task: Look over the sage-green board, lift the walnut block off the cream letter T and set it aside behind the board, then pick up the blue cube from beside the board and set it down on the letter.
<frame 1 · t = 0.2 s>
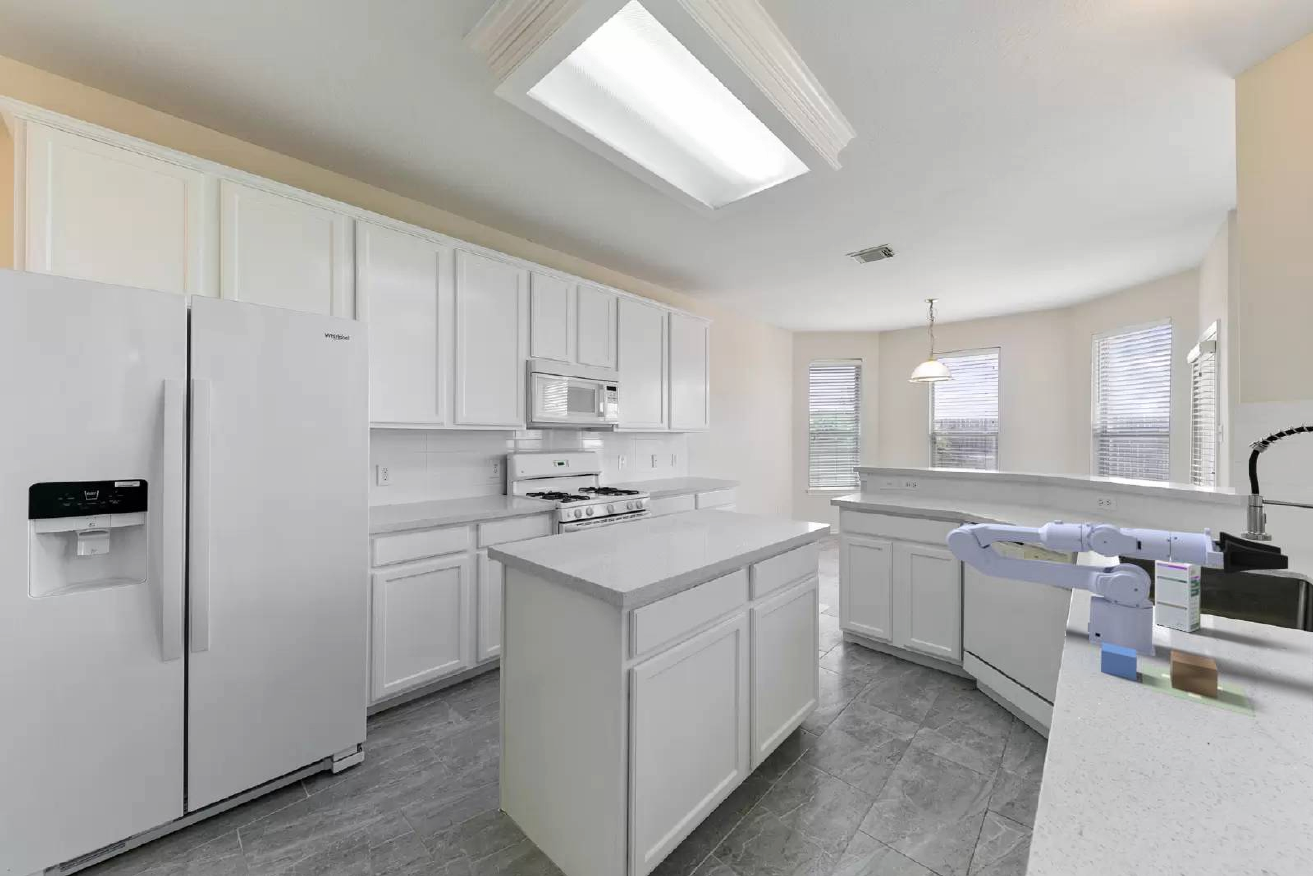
hand: (1284, 558, 87), 21 cm above the countertop, tool horizontal, fingers open, 7 cm apart
blue cube: (1118, 675, 89), on the countertop
walnut block: (1192, 687, 84), point 1 cm above the countertop, touching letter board
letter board: (1192, 691, 84), on the countertop
syrup box: (1176, 627, 111), on the countertop
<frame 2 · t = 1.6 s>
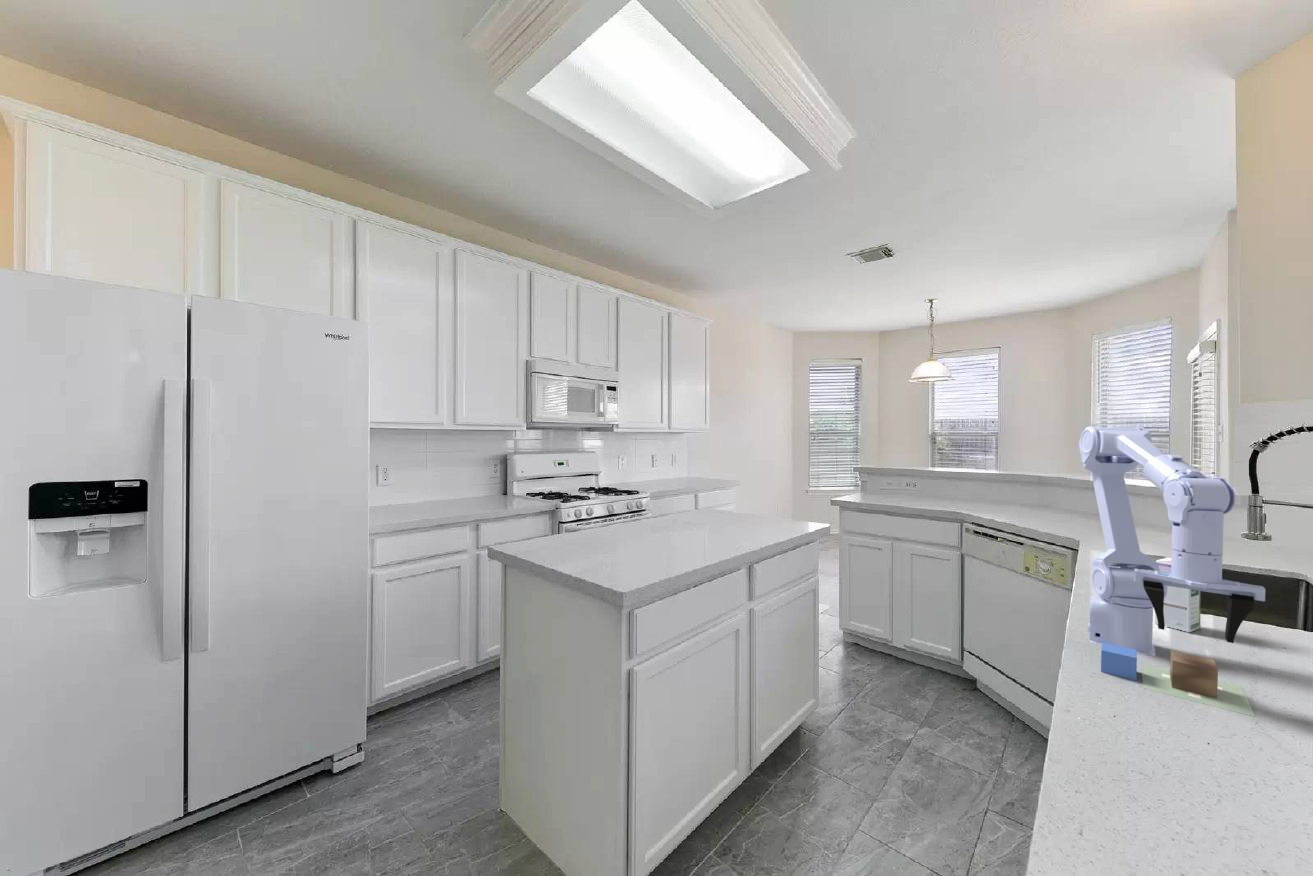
hand: (1194, 634, 83), 9 cm above the countertop, tool pointing down, fingers open, 7 cm apart
nothing on the countertop moved.
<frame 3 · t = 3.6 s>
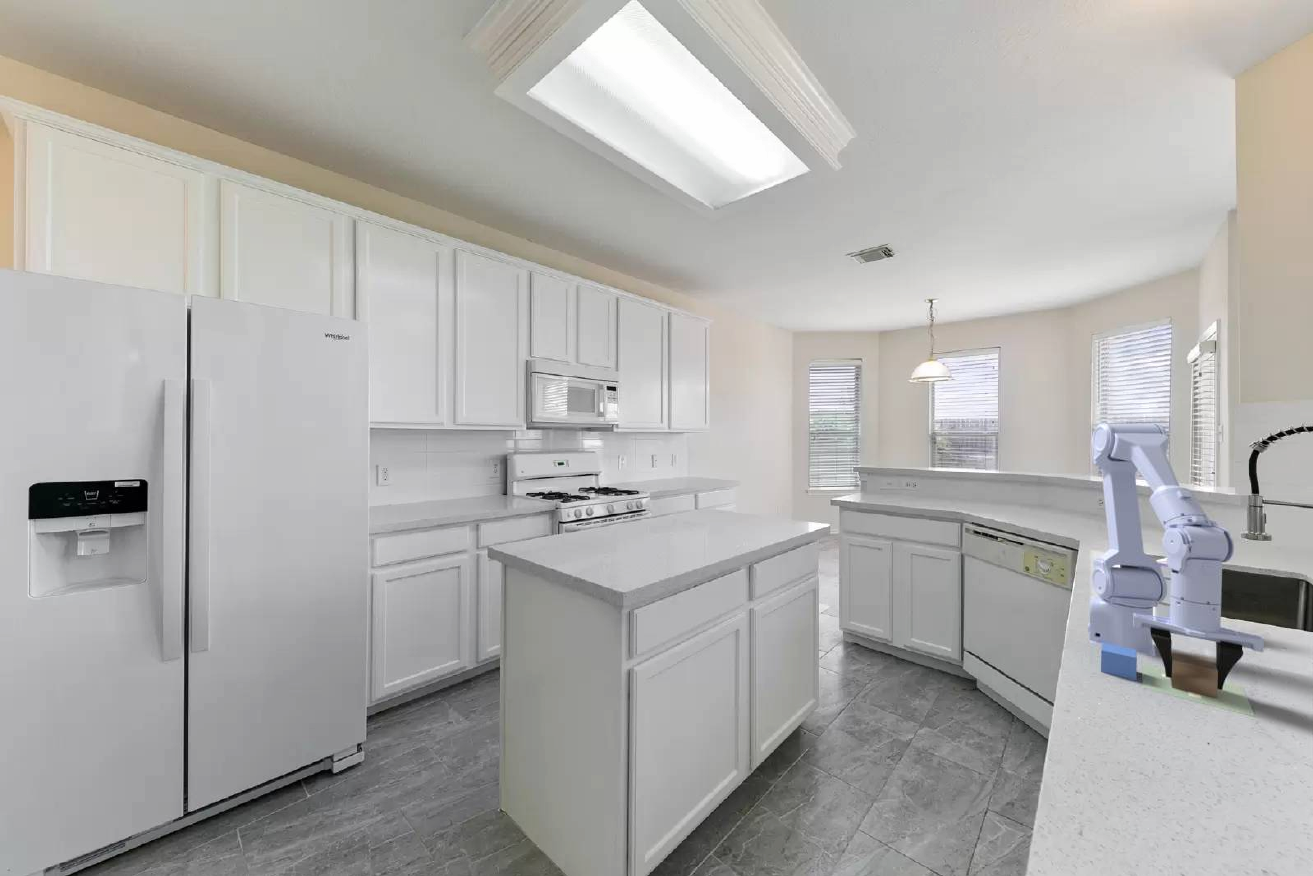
hand: (1192, 681, 84), 2 cm above the countertop, tool pointing down, fingers closed on walnut block, 5 cm apart
walnut block: (1192, 687, 84), point 1 cm above the countertop, touching gripper, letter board
everything else where it was.
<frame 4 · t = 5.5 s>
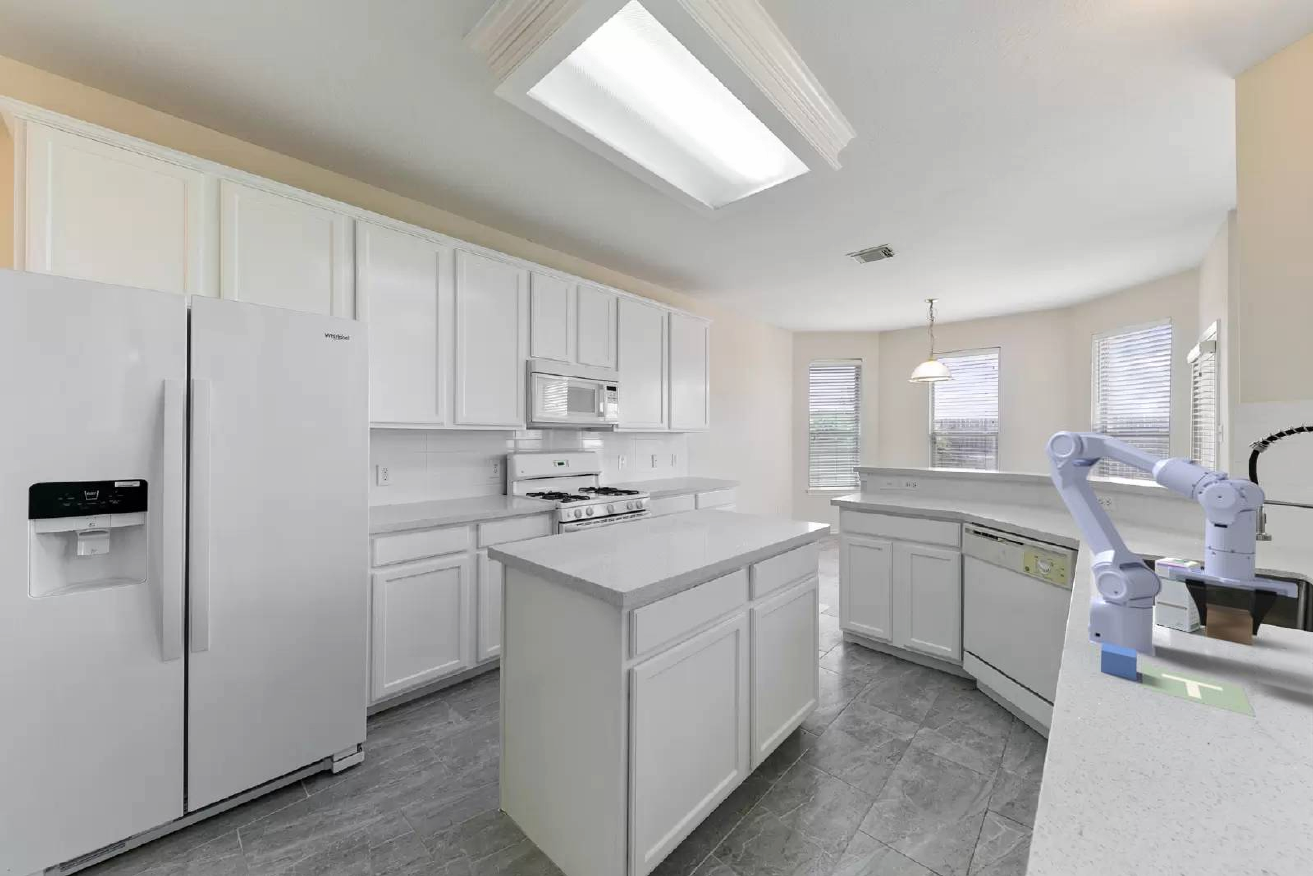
hand: (1227, 629, 87), 9 cm above the countertop, tool pointing down, fingers closed on walnut block, 5 cm apart
walnut block: (1227, 637, 87), point 8 cm above the countertop, touching gripper
everything else where it was.
when the fingers open (2 cm above the countertop, at t = 7.4 s): walnut block drops 1 cm, on the countertop.
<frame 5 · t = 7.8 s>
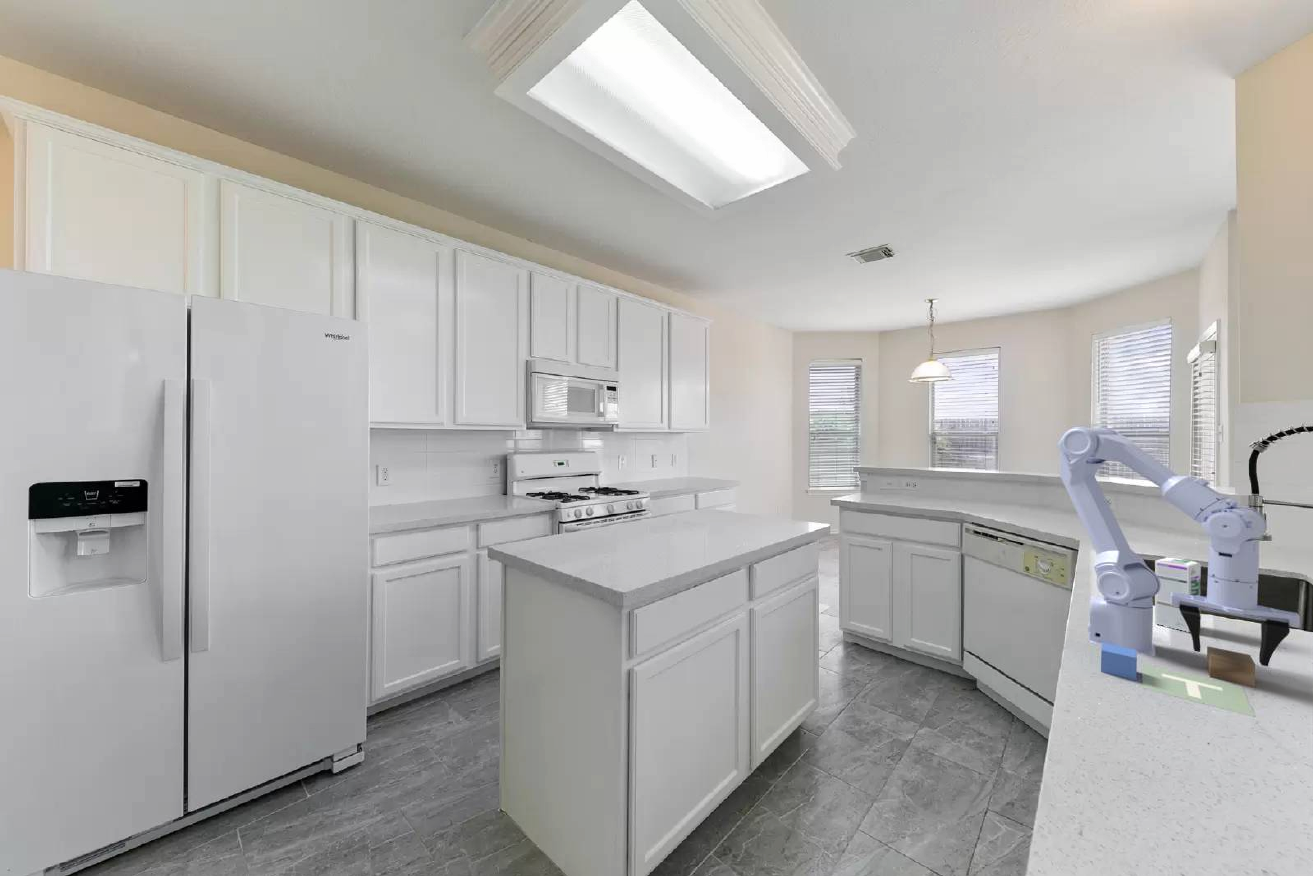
hand: (1229, 656, 88), 4 cm above the countertop, tool pointing down, fingers open, 7 cm apart
walnut block: (1229, 681, 87), on the countertop
everything else where it was.
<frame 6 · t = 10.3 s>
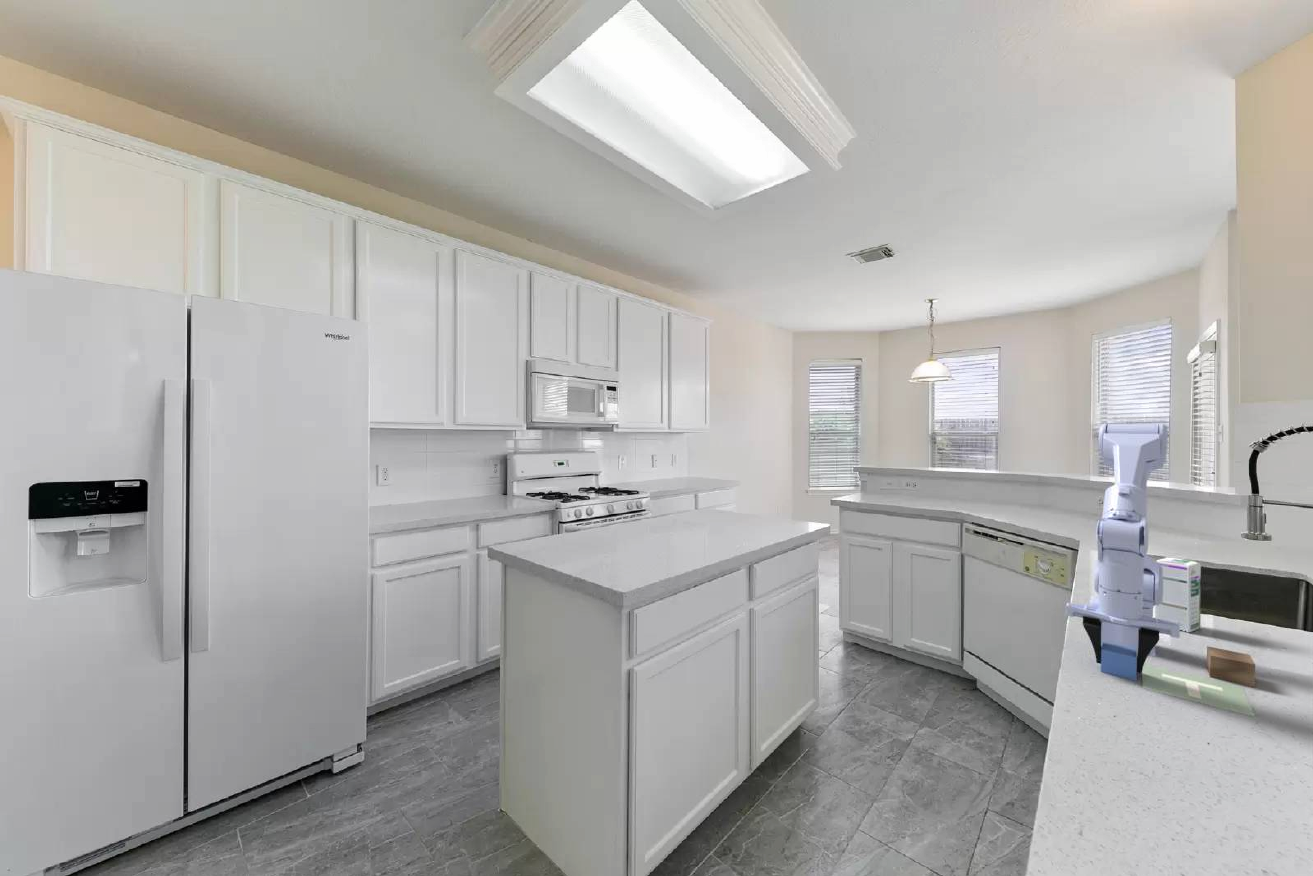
hand: (1118, 666, 89), 2 cm above the countertop, tool pointing down, fingers closed on blue cube, 4 cm apart
blue cube: (1118, 675, 89), on the countertop, touching gripper
everything else where it was.
when the fingers open (3 cm above the countertop, at t = 13.7 s): blue cube stays where it is, resting on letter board.
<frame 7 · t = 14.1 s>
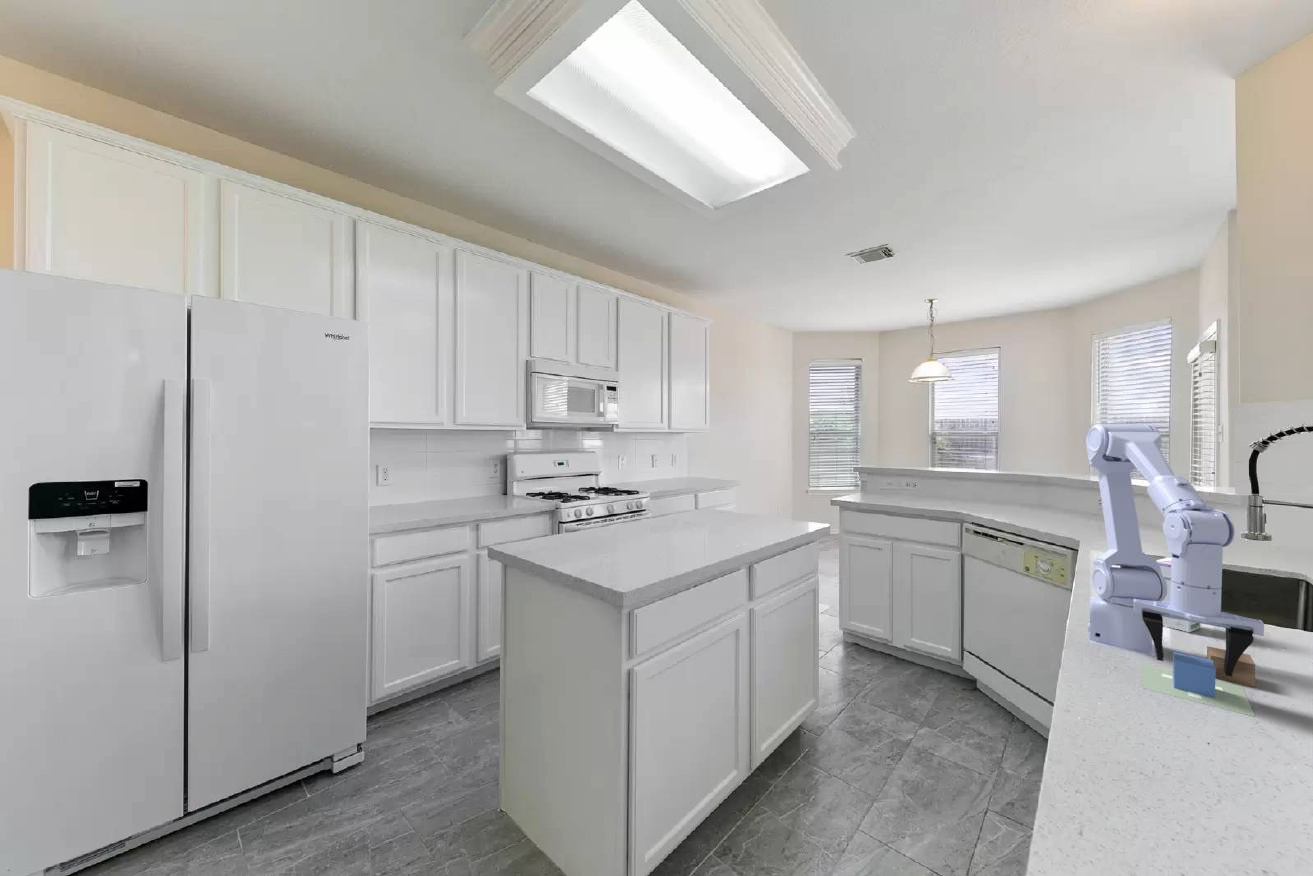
hand: (1192, 666, 84), 4 cm above the countertop, tool pointing down, fingers open, 7 cm apart
blue cube: (1193, 687, 83), point 1 cm above the countertop, touching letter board
everything else where it was.
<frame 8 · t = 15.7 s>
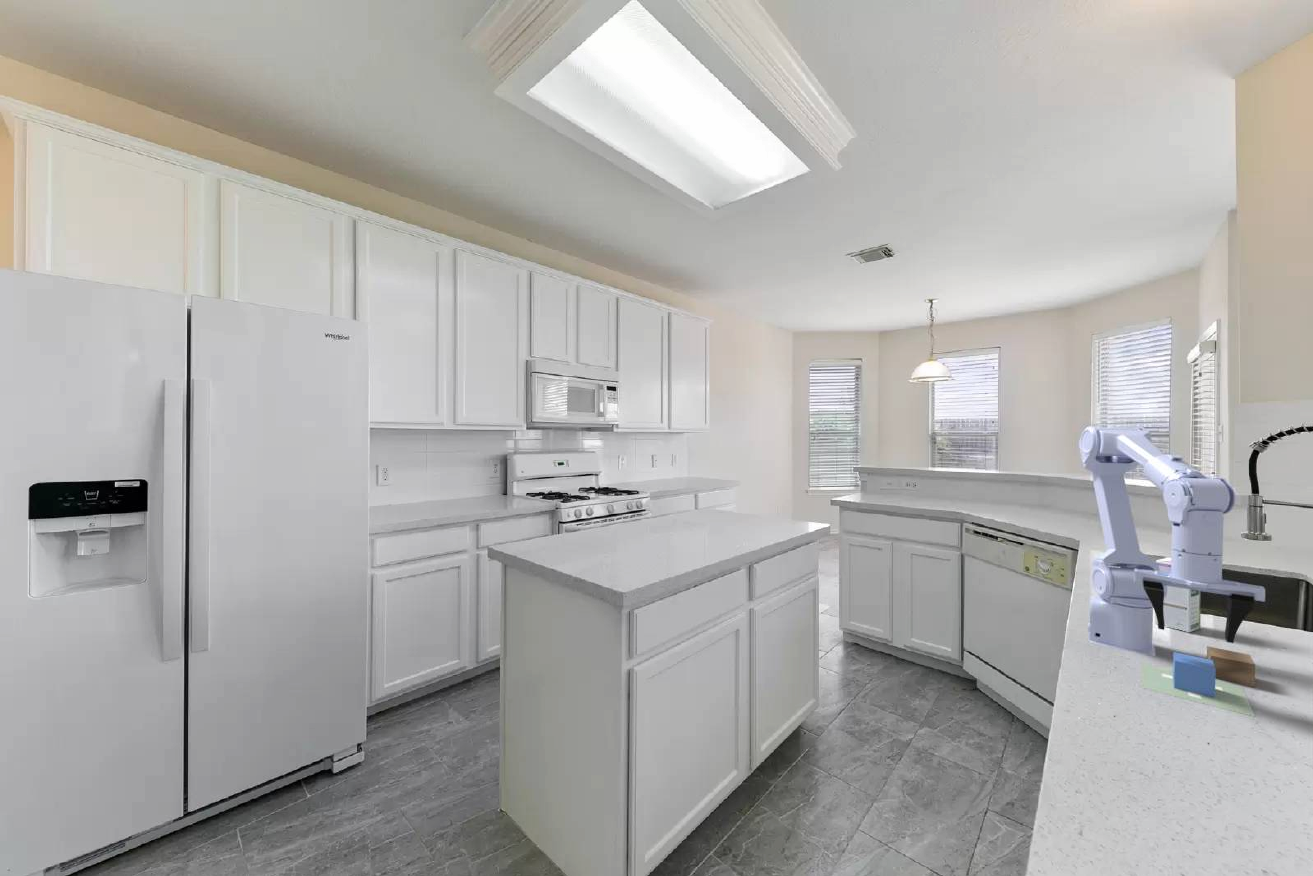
hand: (1194, 634, 83), 9 cm above the countertop, tool pointing down, fingers open, 7 cm apart
nothing on the countertop moved.
at the end: blue cube 0.2 cm off-centre on the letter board, point 0.6 cm above the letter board's base; blue cube tilted 0°; walnut block moved 11.0 cm from its start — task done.
